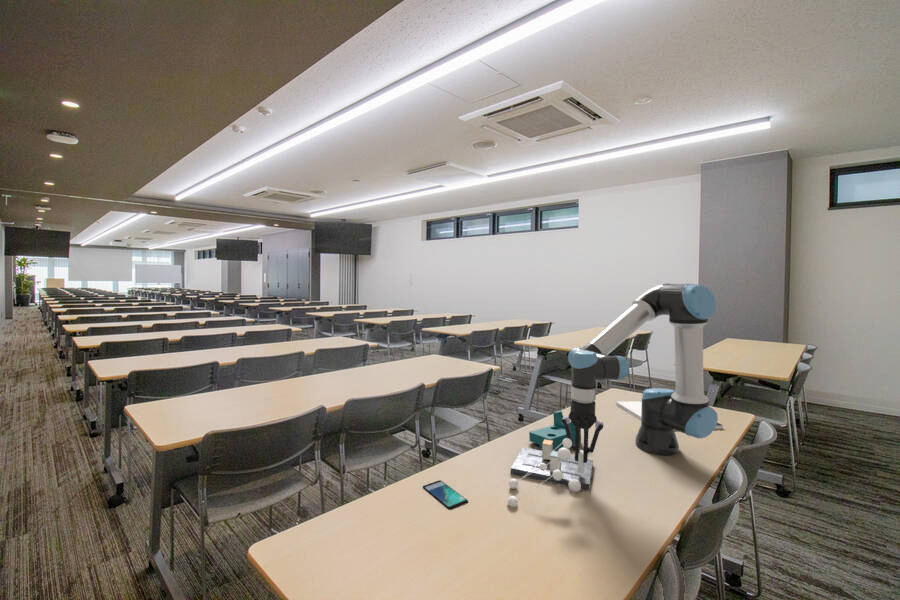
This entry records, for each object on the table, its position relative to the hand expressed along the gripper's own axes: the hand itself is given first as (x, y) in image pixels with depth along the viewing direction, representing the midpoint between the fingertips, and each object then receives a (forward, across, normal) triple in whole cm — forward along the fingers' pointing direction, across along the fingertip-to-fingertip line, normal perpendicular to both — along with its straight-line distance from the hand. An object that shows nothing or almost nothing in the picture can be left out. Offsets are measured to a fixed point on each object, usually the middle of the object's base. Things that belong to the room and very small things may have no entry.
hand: (580, 471), depth 128 cm
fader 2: (+1, +8, 0) cm, 8 cm away
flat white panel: (+4, -32, -84) cm, 90 cm away
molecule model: (+4, +10, +13) cm, 17 cm away
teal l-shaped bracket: (+4, +12, -28) cm, 31 cm away
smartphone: (+4, +37, +25) cm, 45 cm away
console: (+4, +10, -4) cm, 11 cm away
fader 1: (+1, +12, -8) cm, 15 cm away
